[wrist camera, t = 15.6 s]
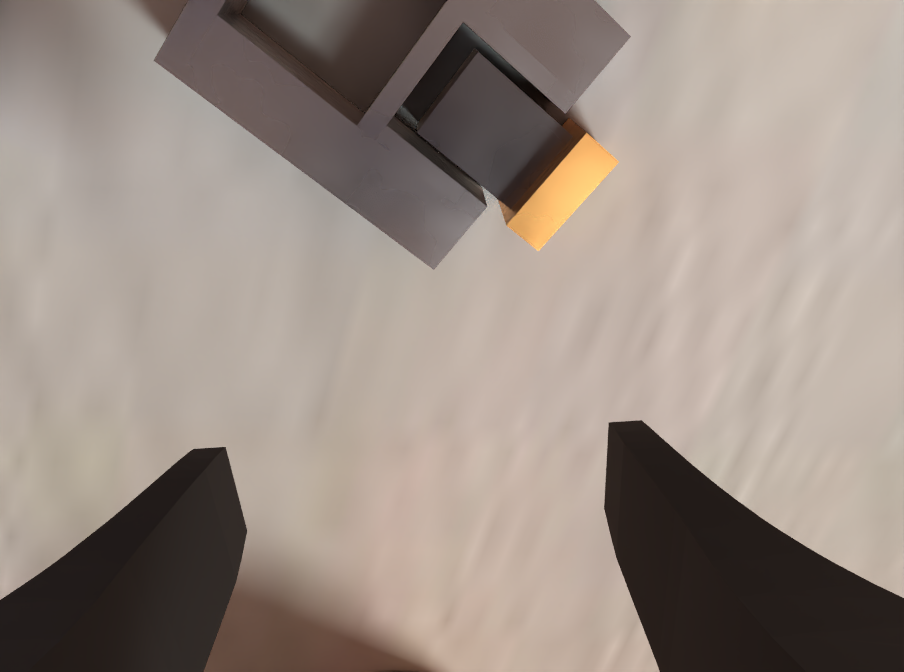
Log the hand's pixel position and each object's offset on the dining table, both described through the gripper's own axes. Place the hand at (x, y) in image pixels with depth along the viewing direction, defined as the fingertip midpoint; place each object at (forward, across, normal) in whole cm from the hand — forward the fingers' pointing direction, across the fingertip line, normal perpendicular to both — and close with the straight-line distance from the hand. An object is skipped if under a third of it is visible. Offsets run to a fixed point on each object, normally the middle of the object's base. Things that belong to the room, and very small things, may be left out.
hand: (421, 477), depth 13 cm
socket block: (+10, 0, -7) cm, 13 cm away
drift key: (+10, -2, -4) cm, 12 cm away
